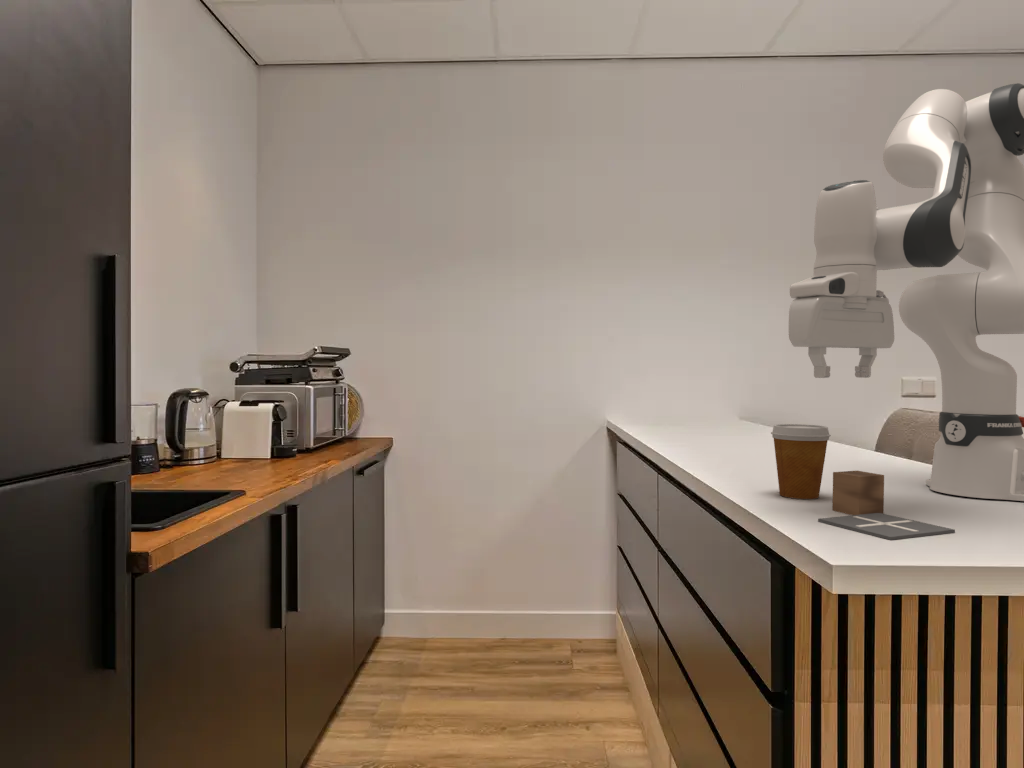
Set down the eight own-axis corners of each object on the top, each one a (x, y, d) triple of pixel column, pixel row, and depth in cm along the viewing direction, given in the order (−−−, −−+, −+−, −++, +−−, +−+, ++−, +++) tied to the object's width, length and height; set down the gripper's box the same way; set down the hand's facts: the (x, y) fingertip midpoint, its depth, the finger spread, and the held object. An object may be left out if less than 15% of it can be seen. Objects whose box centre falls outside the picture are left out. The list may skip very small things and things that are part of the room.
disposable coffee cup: (819, 491, 130) (820, 424, 129) (837, 501, 120) (838, 429, 120) (763, 490, 131) (764, 423, 130) (777, 500, 121) (779, 428, 121)
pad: (879, 515, 109) (879, 512, 109) (955, 532, 98) (955, 529, 98) (818, 521, 105) (818, 518, 105) (890, 540, 94) (890, 536, 94)
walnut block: (856, 508, 115) (856, 470, 115) (883, 514, 110) (884, 475, 110) (832, 510, 113) (833, 472, 113) (859, 517, 108) (859, 476, 108)
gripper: (869, 292, 120) (868, 377, 120) (781, 285, 110) (780, 377, 110) (906, 289, 114) (904, 377, 115) (816, 281, 104) (815, 378, 105)
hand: (842, 377), depth 112 cm, fingers open, 8 cm apart
